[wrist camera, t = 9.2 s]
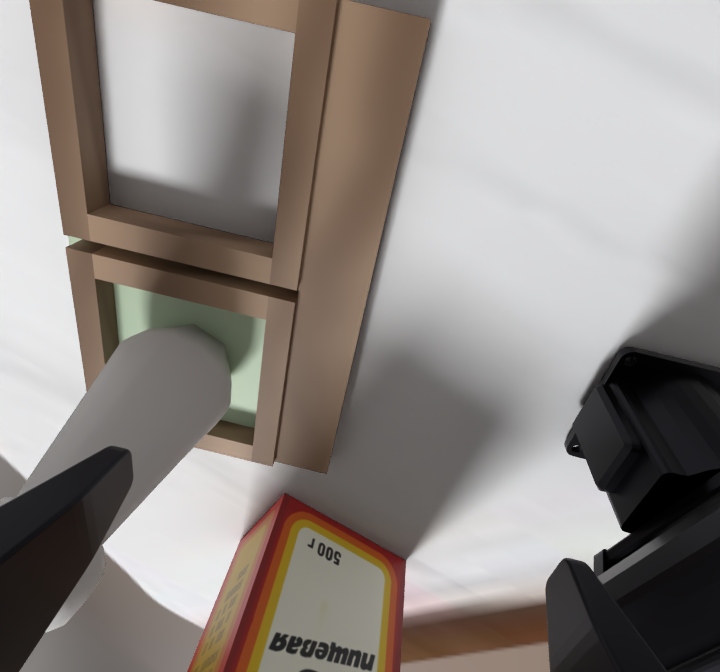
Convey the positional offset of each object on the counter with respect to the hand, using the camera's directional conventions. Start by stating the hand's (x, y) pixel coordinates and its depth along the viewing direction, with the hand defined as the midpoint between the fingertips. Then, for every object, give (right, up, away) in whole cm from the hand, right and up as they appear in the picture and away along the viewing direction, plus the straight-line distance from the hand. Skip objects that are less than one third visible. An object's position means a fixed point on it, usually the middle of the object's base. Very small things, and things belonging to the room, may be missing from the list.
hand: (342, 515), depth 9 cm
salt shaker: (-8, +3, +15) cm, 17 cm away
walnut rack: (-6, +7, +12) cm, 15 cm away
